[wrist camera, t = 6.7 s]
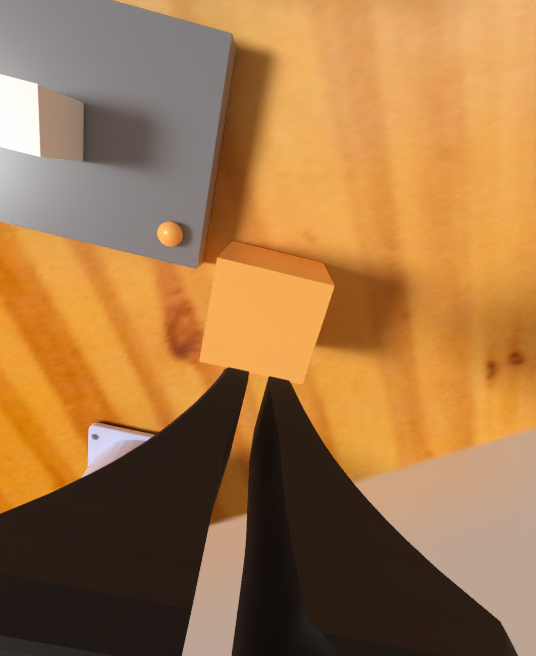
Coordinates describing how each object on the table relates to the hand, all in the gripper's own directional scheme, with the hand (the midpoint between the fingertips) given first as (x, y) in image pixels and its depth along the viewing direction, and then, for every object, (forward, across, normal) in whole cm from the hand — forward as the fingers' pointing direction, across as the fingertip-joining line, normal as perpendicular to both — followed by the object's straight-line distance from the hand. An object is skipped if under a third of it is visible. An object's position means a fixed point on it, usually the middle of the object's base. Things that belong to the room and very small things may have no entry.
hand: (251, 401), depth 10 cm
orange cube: (+10, 0, 0) cm, 10 cm away
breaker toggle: (+9, +11, -6) cm, 15 cm away
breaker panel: (+10, +10, -6) cm, 16 cm away
